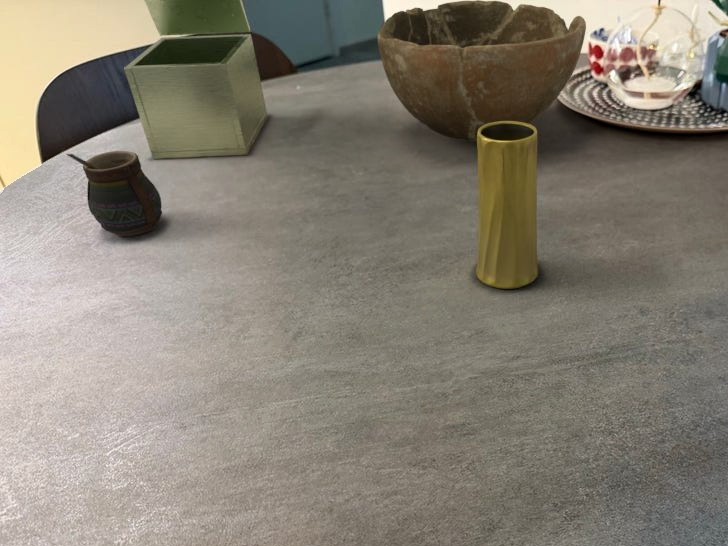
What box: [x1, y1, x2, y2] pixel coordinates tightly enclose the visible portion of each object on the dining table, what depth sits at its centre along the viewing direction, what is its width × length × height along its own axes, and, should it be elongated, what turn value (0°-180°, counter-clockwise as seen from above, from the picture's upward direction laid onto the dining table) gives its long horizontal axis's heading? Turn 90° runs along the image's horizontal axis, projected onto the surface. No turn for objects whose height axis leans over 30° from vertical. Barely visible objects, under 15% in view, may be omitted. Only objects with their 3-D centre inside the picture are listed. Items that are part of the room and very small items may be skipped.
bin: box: [123, 33, 269, 160], centre depth 98 cm, size 16×13×12 cm
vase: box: [475, 121, 539, 290], centre depth 65 cm, size 6×6×14 cm
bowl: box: [376, 0, 587, 142], centre depth 96 cm, size 28×27×15 cm
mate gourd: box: [66, 150, 163, 237], centre depth 76 cm, size 7×8×10 cm
